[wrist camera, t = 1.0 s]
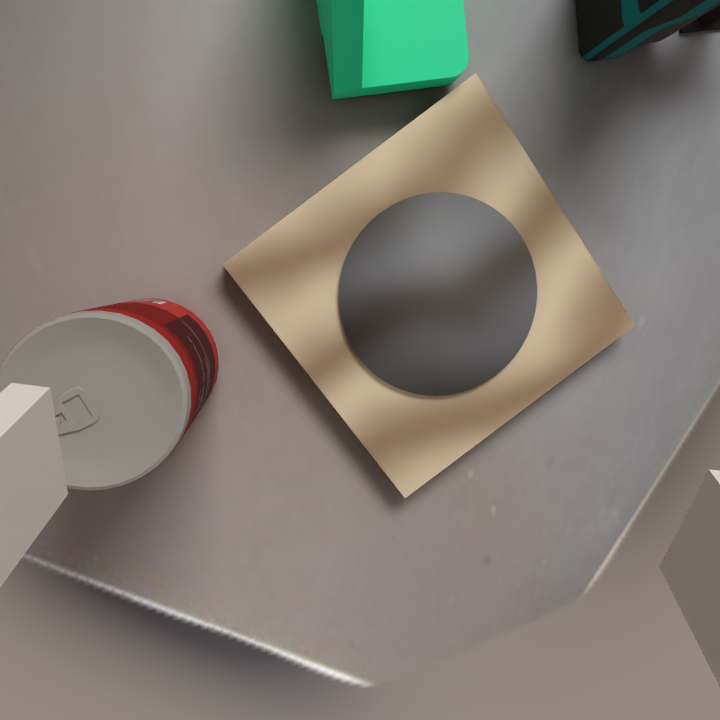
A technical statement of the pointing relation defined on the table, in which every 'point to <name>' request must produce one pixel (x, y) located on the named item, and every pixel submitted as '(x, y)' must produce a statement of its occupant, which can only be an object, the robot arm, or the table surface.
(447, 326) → the wooden square board
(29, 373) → the canned food
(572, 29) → the table surface
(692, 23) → the surveillance camera
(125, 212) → the table surface
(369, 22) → the camera mount
